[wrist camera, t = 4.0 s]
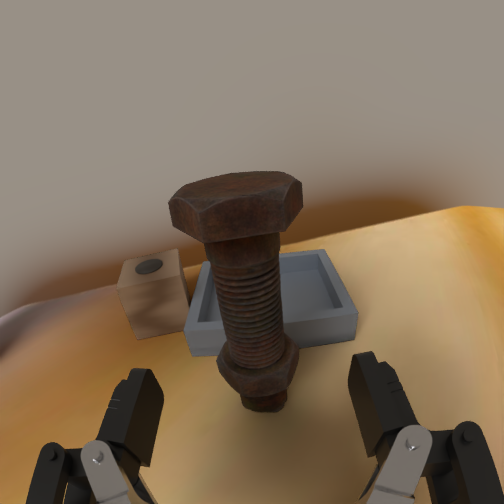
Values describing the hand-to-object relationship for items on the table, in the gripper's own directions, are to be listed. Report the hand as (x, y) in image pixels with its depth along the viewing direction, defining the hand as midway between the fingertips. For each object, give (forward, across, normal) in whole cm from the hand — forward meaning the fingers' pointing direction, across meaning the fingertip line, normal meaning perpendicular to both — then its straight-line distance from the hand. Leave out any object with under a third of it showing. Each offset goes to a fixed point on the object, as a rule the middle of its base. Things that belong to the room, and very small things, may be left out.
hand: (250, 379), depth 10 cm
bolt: (+5, 0, +9) cm, 10 cm away
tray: (+16, -1, +8) cm, 18 cm away
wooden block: (+16, +10, +8) cm, 20 cm away
